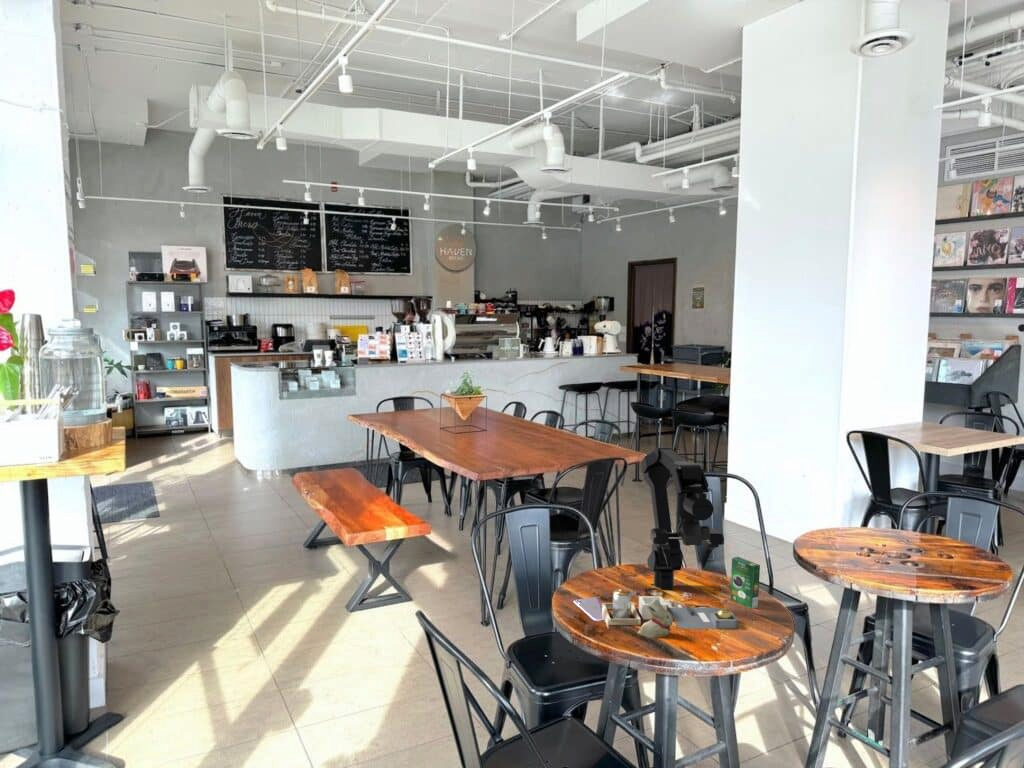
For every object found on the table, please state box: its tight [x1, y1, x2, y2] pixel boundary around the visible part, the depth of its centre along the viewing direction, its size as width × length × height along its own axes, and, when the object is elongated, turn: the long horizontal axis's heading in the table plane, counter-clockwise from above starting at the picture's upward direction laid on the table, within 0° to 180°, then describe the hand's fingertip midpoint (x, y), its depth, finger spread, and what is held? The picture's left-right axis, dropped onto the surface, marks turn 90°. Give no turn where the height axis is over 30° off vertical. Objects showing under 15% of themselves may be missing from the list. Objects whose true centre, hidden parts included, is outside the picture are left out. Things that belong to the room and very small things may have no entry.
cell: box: [612, 588, 631, 619], centre depth 187 cm, size 4×4×7 cm
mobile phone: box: [573, 596, 605, 622], centre depth 195 cm, size 8×1×15 cm
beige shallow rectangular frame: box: [601, 602, 642, 631], centre depth 187 cm, size 11×8×3 cm
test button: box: [718, 608, 732, 619], centre depth 183 cm, size 3×3×2 cm
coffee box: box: [729, 556, 761, 610], centre depth 196 cm, size 8×3×13 cm, turn 29°
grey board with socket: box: [666, 603, 740, 630], centre depth 187 cm, size 14×16×3 cm
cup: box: [638, 595, 668, 620], centre depth 188 cm, size 6×6×5 cm
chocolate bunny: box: [637, 599, 674, 639], centre depth 176 cm, size 6×8×10 cm
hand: (685, 567), depth 193 cm, fingers open, 9 cm apart
